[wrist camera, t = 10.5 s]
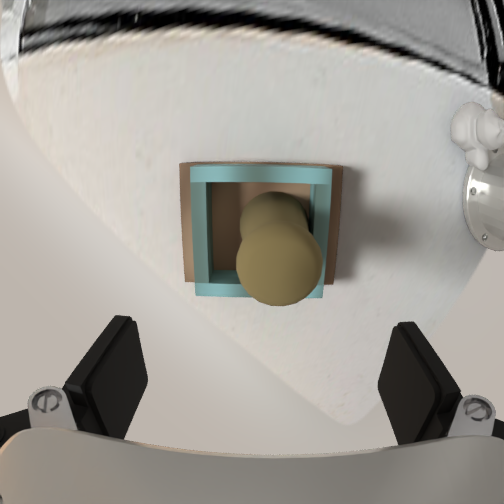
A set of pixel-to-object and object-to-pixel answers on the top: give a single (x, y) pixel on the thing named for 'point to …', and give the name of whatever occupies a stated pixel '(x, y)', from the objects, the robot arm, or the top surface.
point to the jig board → (231, 207)
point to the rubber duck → (477, 133)
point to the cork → (277, 250)
